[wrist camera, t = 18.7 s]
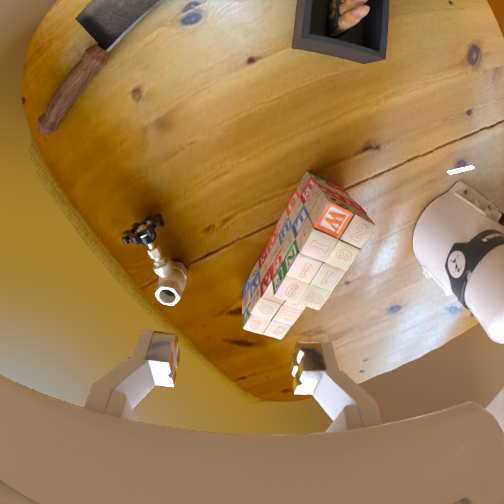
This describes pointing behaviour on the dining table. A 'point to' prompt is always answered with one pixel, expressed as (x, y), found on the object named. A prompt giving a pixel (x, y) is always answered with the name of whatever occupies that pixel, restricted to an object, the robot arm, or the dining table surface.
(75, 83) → the meat cleaver
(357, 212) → the stack of blocks
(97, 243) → the dining table surface
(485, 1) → the dining table surface
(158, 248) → the valve
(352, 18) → the ammunition clip
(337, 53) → the bin
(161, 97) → the dining table surface
